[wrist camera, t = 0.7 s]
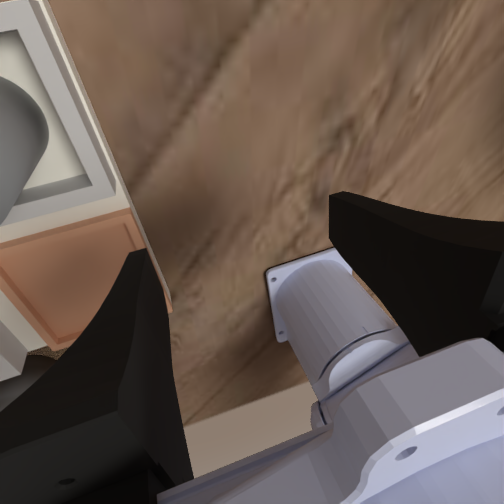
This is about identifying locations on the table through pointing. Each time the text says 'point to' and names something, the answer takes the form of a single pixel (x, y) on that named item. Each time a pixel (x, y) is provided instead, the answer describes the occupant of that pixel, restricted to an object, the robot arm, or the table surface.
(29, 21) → the white cylinder holder tray
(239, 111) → the table surface
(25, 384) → the dark gray cylinder
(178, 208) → the table surface
